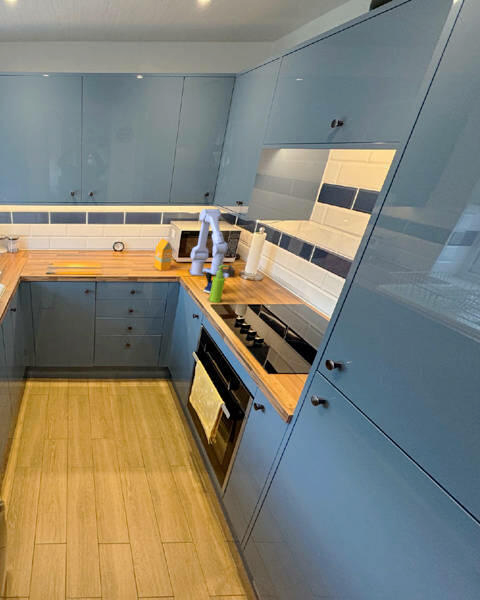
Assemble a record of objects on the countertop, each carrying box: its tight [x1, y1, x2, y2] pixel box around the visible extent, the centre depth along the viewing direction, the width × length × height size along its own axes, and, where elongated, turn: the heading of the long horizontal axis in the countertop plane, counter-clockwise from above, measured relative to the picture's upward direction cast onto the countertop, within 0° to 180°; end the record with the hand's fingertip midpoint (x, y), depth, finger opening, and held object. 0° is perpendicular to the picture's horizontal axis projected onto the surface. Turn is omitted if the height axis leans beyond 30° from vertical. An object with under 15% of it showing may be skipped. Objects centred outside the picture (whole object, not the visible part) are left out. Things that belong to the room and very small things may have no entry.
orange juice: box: [153, 238, 174, 272], centre depth 221 cm, size 8×9×20 cm
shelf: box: [206, 264, 236, 278], centre depth 214 cm, size 11×15×4 cm
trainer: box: [202, 279, 213, 294], centre depth 188 cm, size 11×5×4 cm, turn 136°
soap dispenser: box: [208, 264, 229, 304], centre depth 174 cm, size 6×7×20 cm
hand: (213, 286), depth 190 cm, fingers closed on trainer, 4 cm apart
